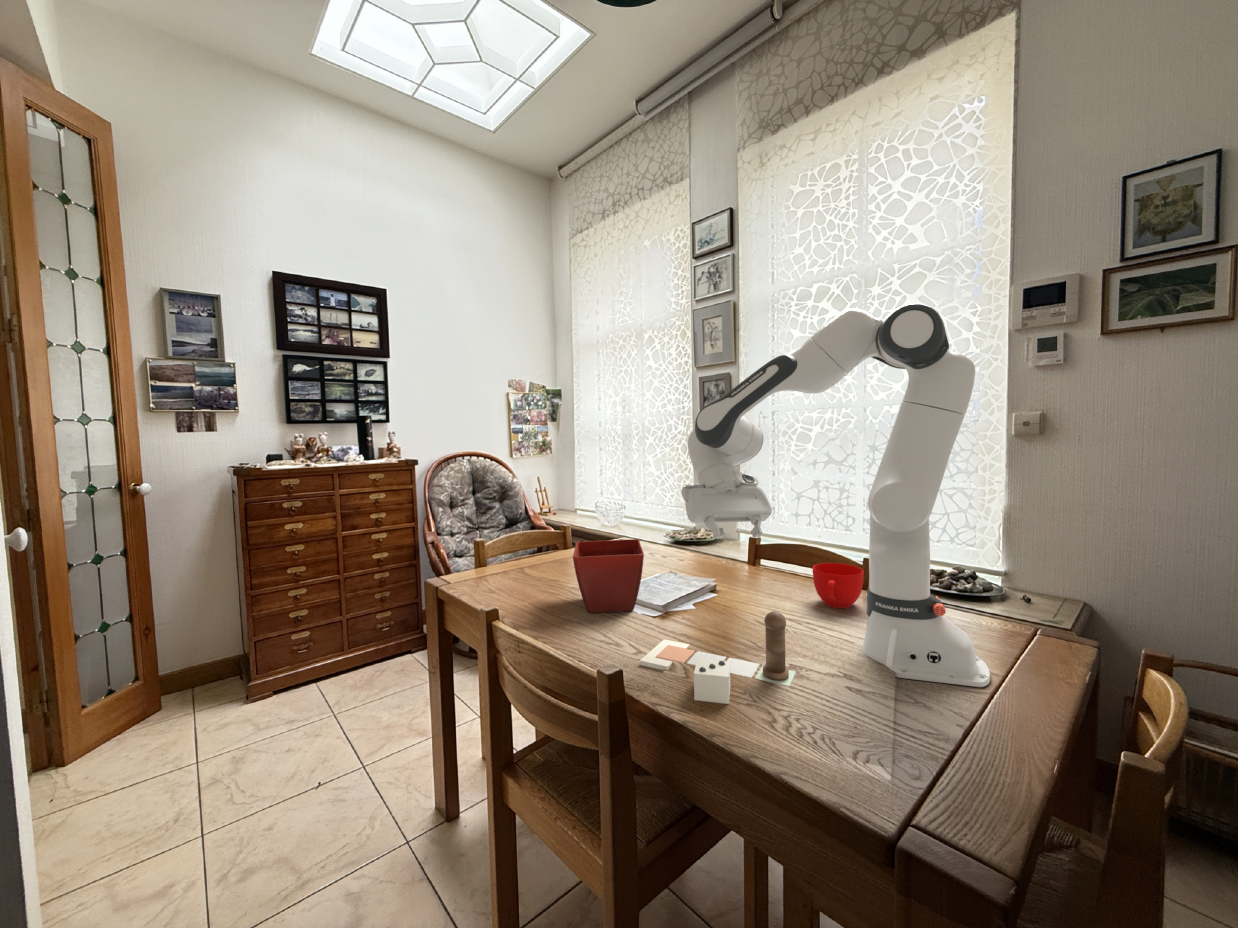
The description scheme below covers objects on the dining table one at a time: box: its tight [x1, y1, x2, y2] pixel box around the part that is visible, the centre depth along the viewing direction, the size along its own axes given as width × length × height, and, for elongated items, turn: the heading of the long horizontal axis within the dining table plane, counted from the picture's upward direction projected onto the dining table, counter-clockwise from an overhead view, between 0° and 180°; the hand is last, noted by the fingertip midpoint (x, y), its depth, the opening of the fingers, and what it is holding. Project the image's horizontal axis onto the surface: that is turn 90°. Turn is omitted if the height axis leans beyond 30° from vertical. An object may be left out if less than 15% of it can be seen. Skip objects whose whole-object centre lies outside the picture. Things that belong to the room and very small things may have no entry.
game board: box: [639, 638, 797, 687], centre depth 101 cm, size 32×12×1 cm, turn 60°
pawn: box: [763, 610, 790, 681], centre depth 95 cm, size 5×5×12 cm
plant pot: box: [572, 538, 645, 614], centre depth 141 cm, size 19×19×17 cm
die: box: [693, 658, 731, 705], centre depth 89 cm, size 6×6×7 cm
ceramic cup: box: [812, 562, 865, 609], centre depth 135 cm, size 13×17×10 cm
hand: (739, 536), depth 107 cm, fingers open, 8 cm apart
